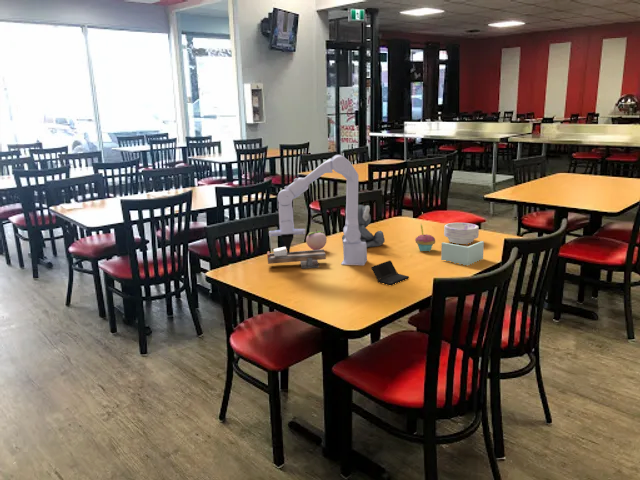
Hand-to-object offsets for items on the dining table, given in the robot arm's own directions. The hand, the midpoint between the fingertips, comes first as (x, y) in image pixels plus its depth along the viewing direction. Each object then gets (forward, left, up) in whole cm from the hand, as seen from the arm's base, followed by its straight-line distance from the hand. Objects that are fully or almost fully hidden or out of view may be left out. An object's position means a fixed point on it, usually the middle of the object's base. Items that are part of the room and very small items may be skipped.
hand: (288, 252), depth 209 cm
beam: (-3, -1, -3) cm, 4 cm away
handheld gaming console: (-43, +11, -6) cm, 45 cm away
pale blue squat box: (-68, -18, -6) cm, 71 cm away
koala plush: (-23, -36, -6) cm, 43 cm away
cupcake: (-53, -30, -6) cm, 61 cm away
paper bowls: (-68, -46, -6) cm, 82 cm away
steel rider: (+3, +1, -1) cm, 3 cm away
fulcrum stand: (-8, -3, -6) cm, 10 cm away
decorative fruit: (-6, -23, -6) cm, 24 cm away
